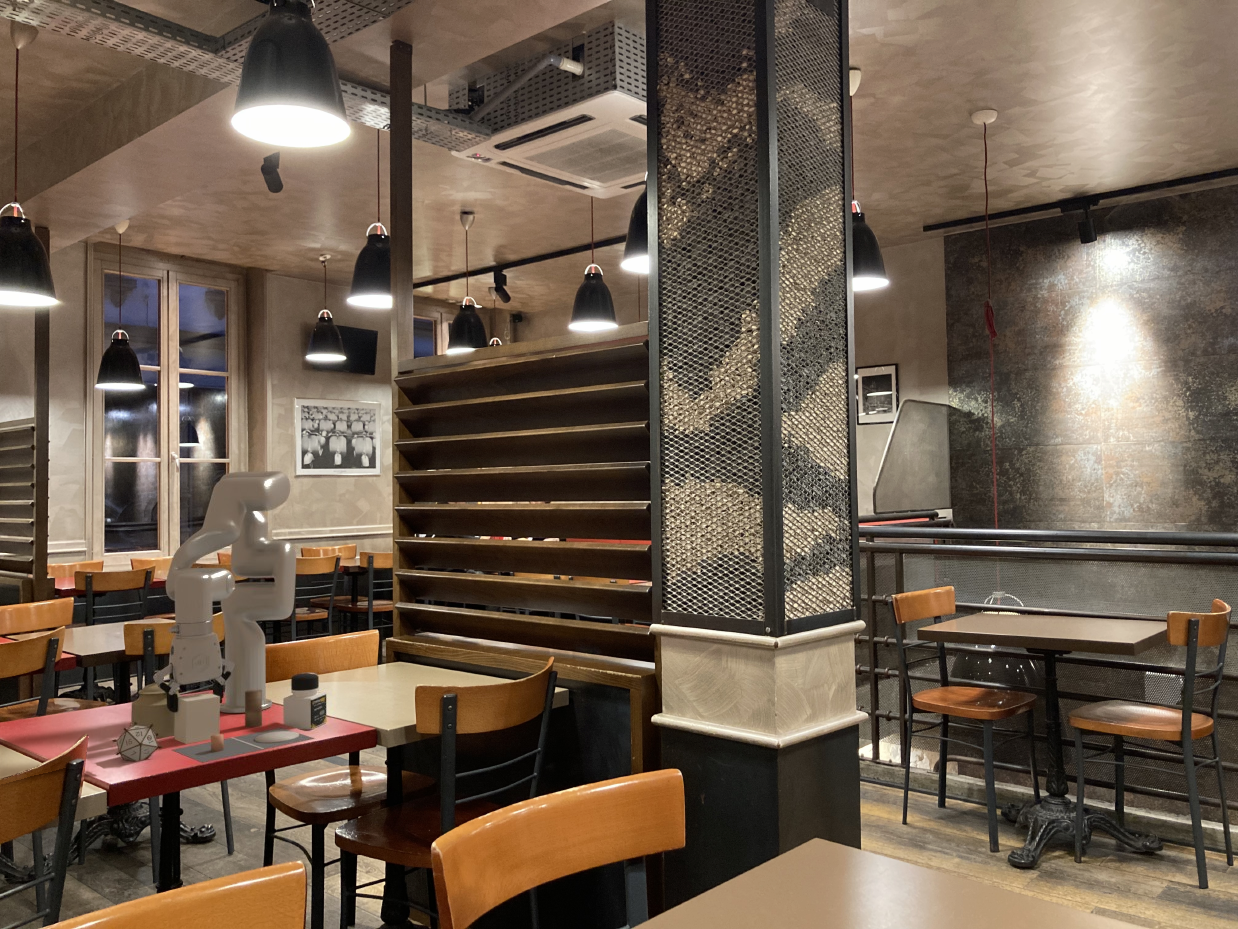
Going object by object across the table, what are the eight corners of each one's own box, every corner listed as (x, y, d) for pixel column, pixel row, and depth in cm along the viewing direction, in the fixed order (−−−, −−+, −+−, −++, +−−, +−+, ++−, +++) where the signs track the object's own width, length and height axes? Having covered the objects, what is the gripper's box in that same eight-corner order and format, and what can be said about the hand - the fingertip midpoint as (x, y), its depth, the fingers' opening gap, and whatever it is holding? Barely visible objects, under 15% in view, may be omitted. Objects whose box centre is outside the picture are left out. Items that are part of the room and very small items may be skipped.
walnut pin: (242, 731, 216) (242, 691, 216) (257, 728, 219) (257, 689, 219) (249, 733, 213) (249, 693, 214) (264, 730, 216) (264, 691, 216)
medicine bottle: (311, 730, 216) (311, 677, 216) (282, 729, 217) (282, 676, 218) (327, 723, 223) (326, 671, 223) (299, 722, 224) (299, 671, 225)
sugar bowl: (111, 739, 211) (111, 671, 212) (157, 728, 221) (157, 663, 221) (150, 747, 203) (150, 676, 204) (196, 735, 213) (196, 668, 213)
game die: (131, 781, 191) (127, 735, 196) (172, 764, 192) (167, 719, 197) (105, 770, 183) (102, 723, 189) (148, 753, 184) (143, 706, 190)
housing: (174, 743, 205) (186, 749, 200) (174, 697, 206) (186, 701, 201) (207, 738, 210) (219, 743, 205) (207, 692, 211) (219, 696, 206)
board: (171, 755, 196) (171, 735, 196) (281, 733, 213) (280, 714, 214) (202, 768, 186) (202, 747, 186) (315, 744, 203) (314, 724, 203)
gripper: (160, 637, 200) (161, 718, 200) (240, 625, 212) (241, 701, 212) (146, 633, 205) (148, 712, 205) (225, 622, 217) (226, 696, 217)
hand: (195, 706), depth 208 cm, fingers open, 9 cm apart
